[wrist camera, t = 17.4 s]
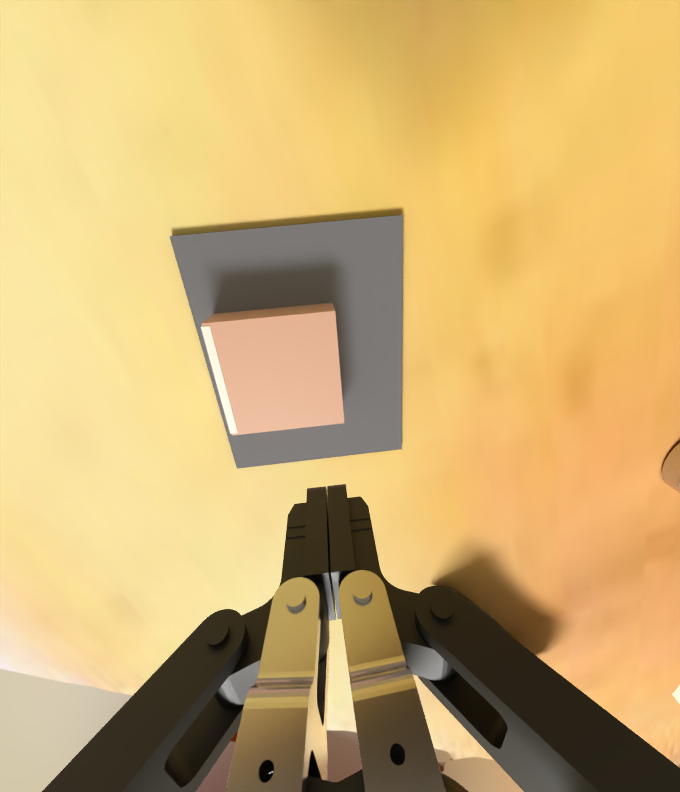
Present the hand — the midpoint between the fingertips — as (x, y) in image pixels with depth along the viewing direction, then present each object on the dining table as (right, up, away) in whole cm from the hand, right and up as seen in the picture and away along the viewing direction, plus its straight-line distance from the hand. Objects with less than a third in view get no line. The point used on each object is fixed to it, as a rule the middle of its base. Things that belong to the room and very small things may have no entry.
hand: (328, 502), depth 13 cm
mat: (-2, +7, +14) cm, 16 cm away
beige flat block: (0, +7, +13) cm, 14 cm away
